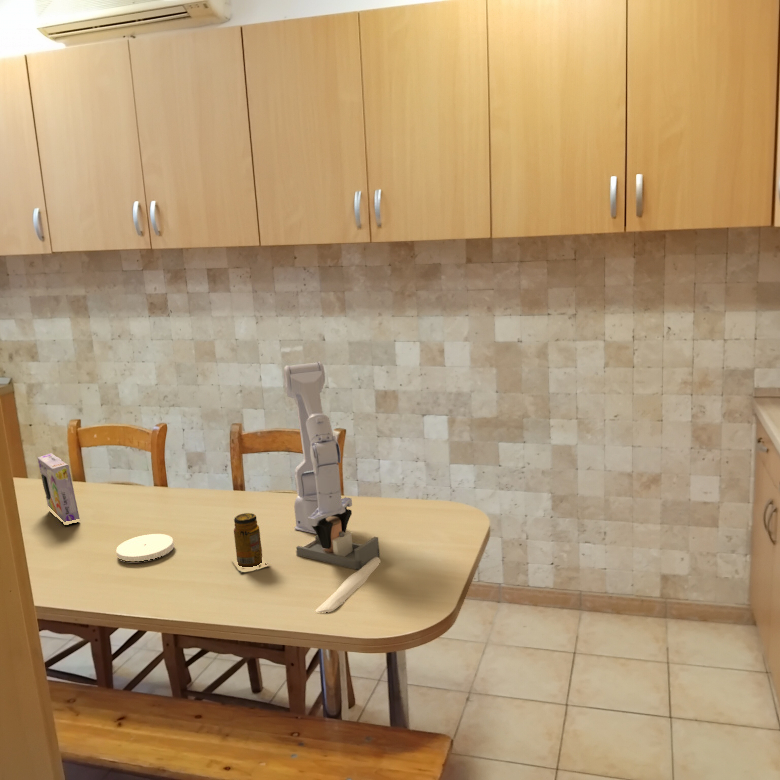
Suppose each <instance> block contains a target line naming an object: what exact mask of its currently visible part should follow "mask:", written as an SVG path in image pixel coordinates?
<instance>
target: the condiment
mask: <svg viewBox="0 0 780 780" xmlns="http://www.w3.org/2000/svg"><path fill="white" fill-rule="evenodd" d="M233 522H234V528H233V535H234V545H235V552H236V553H235V554H236V560H237V562H238V565H239V566H242V567H253V566H257V565H259V564H260V563H262V557H263V548H262V542H261V532H260V526H259V525H258V520H257V516H256V514H254V513H253V512H252V513H251V512H245V513H240V514H237V515H236V516H235V517H234V519H233ZM267 564H269V563H268V562H267ZM267 564H266V563H265V565H267Z"/></svg>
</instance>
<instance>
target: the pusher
mask: <svg viewBox="0 0 780 780" xmlns="http://www.w3.org/2000/svg"><path fill="white" fill-rule="evenodd" d="M352 536H353V535H352V531H347V530H346V532H345V533H344V531H340V532H339V537H337V538H335V539H334V540H332V541H333V552H334V554H336V555H341V556H346V555H348V554H349V553H351V552H353V548H352V543H353V538H352Z"/></svg>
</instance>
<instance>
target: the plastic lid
mask: <svg viewBox="0 0 780 780" xmlns="http://www.w3.org/2000/svg"><path fill="white" fill-rule="evenodd" d="M174 548H175V543H174V538H173V537H172V536H171V535H169V534H163V533H150V534H143V535H138V536H135V537H132V538H131V537H130V539H127V540H125V541H123V542H121V543H120V544H119V545H118V546H117V547H116V548H115V549H116V550H115V553H116V557H117V556H118V557H119V558H120V559H123V560H127V561H128V560H129V561H142V560H143V561H144V560H148V561H151V560H150V559H153V560H156V559H155V558H157V557H159V558H162V557H164V556H166V555H168V554H169V553H170V552H172V550H173V549H174ZM161 556H162V557H161ZM157 559H158V558H157ZM144 562H145V561H144Z"/></svg>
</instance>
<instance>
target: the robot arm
mask: <svg viewBox="0 0 780 780" xmlns="http://www.w3.org/2000/svg"><path fill="white" fill-rule="evenodd" d="M325 374H326V372H325V368H324V365H323V363H322V362H321V361H317V362H310V363H302V364H301V363H300V364H294V365H293V364H291V365H288V364H287V365H285V366H284V367H283V380H284V387H285V393H286V396H287V397H288V398H292V399H293V401H294V402H295V405H296V412H297V417H298V425H299V434H300V440H301V441H300V442H301V448H302V457H303V460H302V461H301V462H300V463H299V464H298V465H297V466H296V467H295V469H294V476H295V477H294V485H295V489H296V493H297V496H296V498H295V500H294V515H295V527H294V530H297V531H302V532H307V533H311V534H315V535H318V537H319V540H320V542H321V545H322V548H326V549H330V547H331V530H332V526H333V523H331V522H328V521H326V518H328V517H331V516H335V517H339V518H340V520H341V527H342V531H344V533H345V532H347V529H348V523H349V521H350V518H351V516H352V513H353V512H352V510H351V509H348V507H349V508H351V507H352V506H353V499H352V497H347V496H345V497H343V498H342V489H341V477H340V465H339V464H341V458H342V457H341V455H342V453H341V448H340V444H339V442H338V440H337V438H336V436H335V435H334V433H333V429H332V425H331V422H330V418H329V416H328V415H325V414H324V413H323V407H322V399H321V393H322V390H323V388H324V385H325V382H326V375H325Z"/></svg>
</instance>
